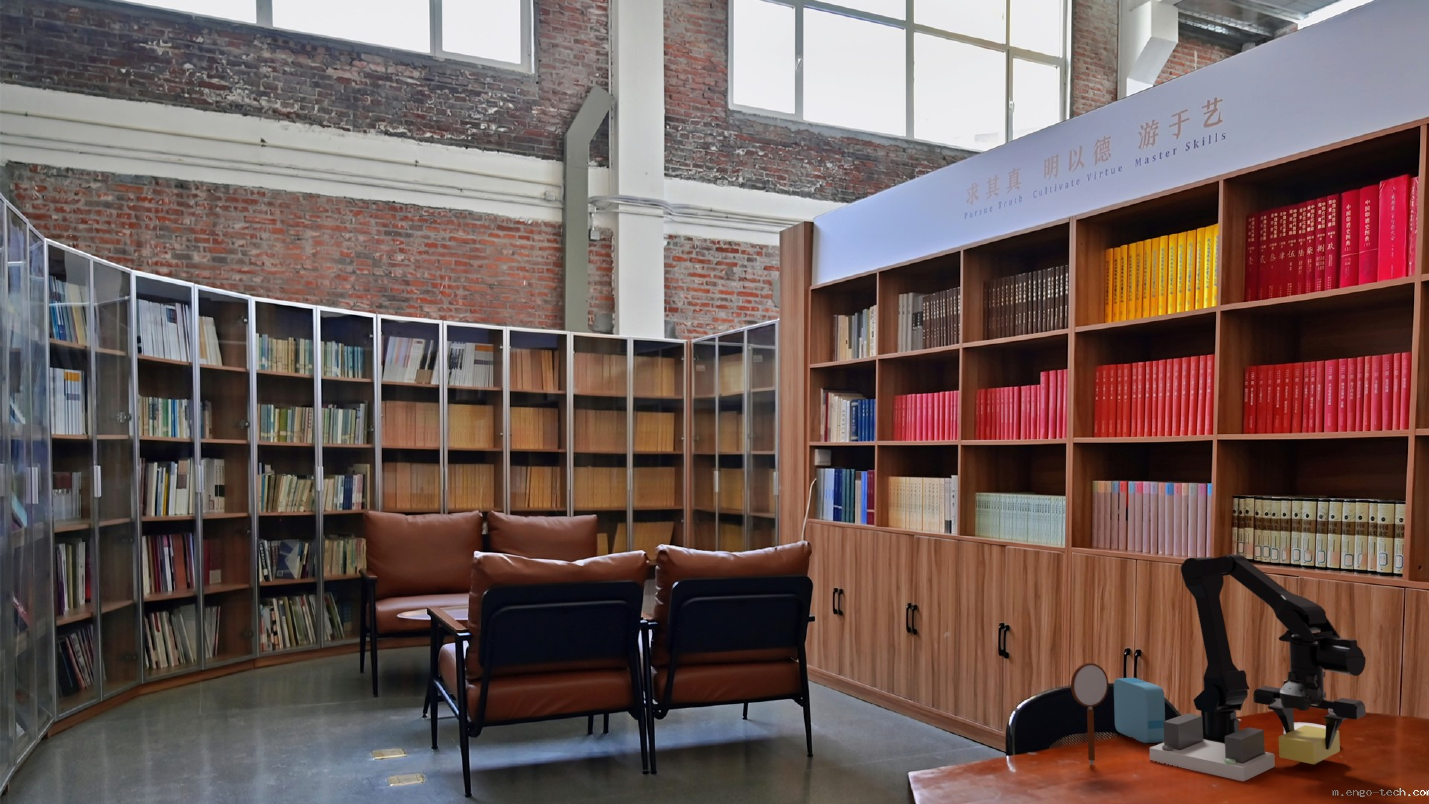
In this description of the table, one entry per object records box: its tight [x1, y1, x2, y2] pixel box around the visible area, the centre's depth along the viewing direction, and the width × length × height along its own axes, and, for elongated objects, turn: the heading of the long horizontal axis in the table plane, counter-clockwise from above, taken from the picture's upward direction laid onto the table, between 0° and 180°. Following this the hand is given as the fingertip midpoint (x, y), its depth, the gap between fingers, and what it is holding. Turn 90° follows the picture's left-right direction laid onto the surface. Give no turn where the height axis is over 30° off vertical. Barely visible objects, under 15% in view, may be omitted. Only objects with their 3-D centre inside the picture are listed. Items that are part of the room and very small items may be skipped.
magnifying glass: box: [1070, 662, 1109, 766], centre depth 198 cm, size 9×2×20 cm, turn 107°
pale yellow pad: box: [1278, 725, 1341, 765], centre depth 198 cm, size 6×14×4 cm, turn 131°
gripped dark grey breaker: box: [1224, 726, 1266, 764], centre depth 195 cm, size 3×11×5 cm, turn 131°
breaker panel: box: [1149, 739, 1276, 782], centre depth 198 cm, size 18×15×3 cm
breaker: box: [1163, 712, 1204, 750], centre depth 204 cm, size 3×11×5 cm, turn 131°
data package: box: [1113, 677, 1166, 744], centre depth 219 cm, size 12×4×12 cm, turn 11°
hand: (1309, 745), depth 198 cm, fingers closed on pale yellow pad, 6 cm apart
